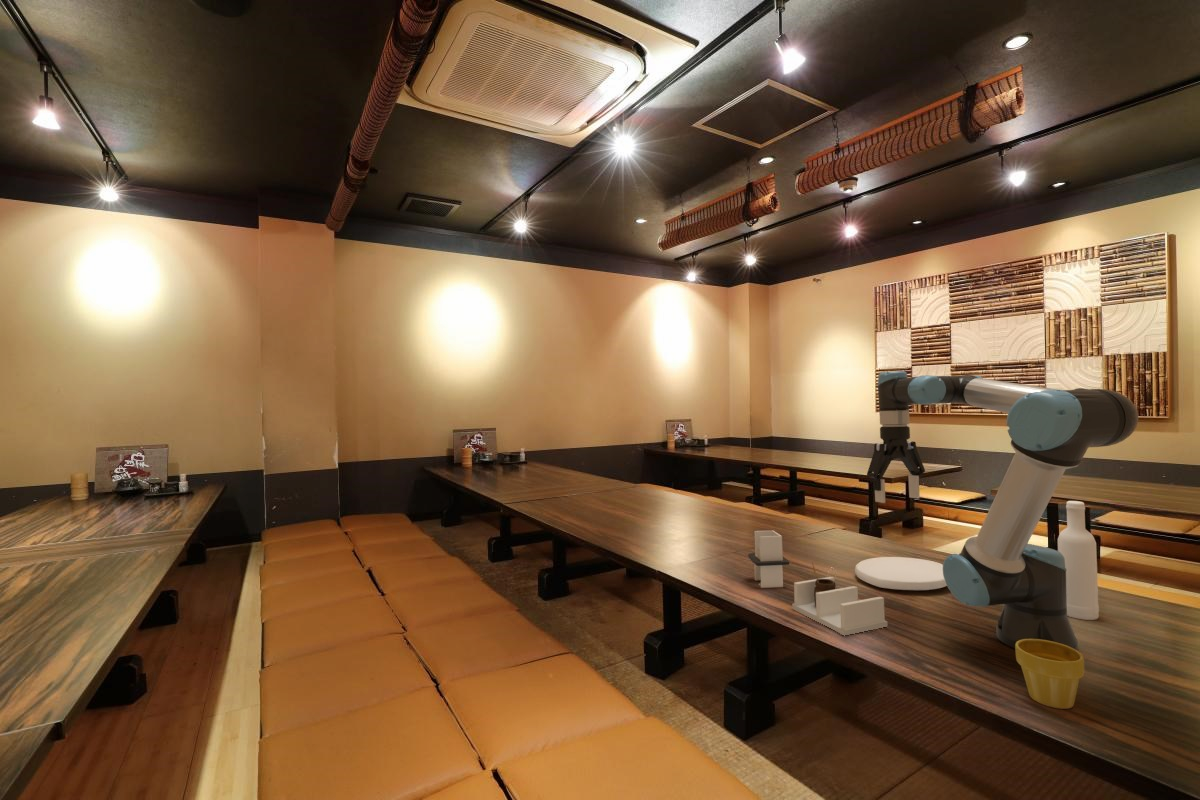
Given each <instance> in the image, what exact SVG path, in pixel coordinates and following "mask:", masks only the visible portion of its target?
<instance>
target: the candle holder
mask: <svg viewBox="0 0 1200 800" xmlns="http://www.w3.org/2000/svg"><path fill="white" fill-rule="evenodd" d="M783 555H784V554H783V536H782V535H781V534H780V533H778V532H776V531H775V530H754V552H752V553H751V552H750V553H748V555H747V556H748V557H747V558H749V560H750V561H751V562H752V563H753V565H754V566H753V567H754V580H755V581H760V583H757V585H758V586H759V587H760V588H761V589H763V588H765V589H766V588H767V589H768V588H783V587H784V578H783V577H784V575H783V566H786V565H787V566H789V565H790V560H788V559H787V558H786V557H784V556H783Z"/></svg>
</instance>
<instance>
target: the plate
mask: <svg viewBox="0 0 1200 800" xmlns="http://www.w3.org/2000/svg"><path fill="white" fill-rule="evenodd" d="M854 574H855V575H856V577H857V578H858V579H860V580H862V581H863V582H865V583H867V584H870V585H872V586H875V587H878V588H883V589H890V590H901V591H929V590H937V589H941V588H945V587H948V586H947V584H946V581H945V579H944V576H943V563H940V562H938V561H937V562H936V561H932V560H929V559H923V558H913V557H906V556H905V557H904V556H903V557H902V556H880V557H872V558H867V559H863V560H861V561H860V562H858V563H857V564H856V565H855V567H854Z"/></svg>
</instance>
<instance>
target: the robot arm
mask: <svg viewBox="0 0 1200 800" xmlns="http://www.w3.org/2000/svg"><path fill="white" fill-rule="evenodd" d="M877 381H878V382H877V393H878V394H877V395H878V409H879V425H881V426H880V427H879V438H880V439H881V440H883V442H882V443H878V442H877V443H874V445H873V447H874V448H873V454H872V457H871V460H870V463H869V467H868V470H867V473H866V477H869V478H870V479H872V481H873V491H874V501H875V503H882V504H886V484H885V481H886V480H885V479H883V477H884V475H885V473H886V472H887V469H888V468H889V466H890V464H891V462H892V461H893V460H894V459H896V460H897V459H900V461H901V462H902V463H903V465H904V466H905V467H906V469H907V470H908V472H909V473H910V474H908V495H909V496H908V497H909V498H910V499H912V498H913V499H920V498H921V495H920V484H921V483H920V481H921V479H920V476H923V475H924V473H925V472H926V468H925V466H924V463H923V461H922V459H921V456H920V453H919V452H918V449H917V443H916V441H911V440H910V441H908V440H909V439H911V429H910V428H911V427H909V426H908V425H910V423H911V422H910V421H911V420H910V407H909V405H923V406H925V405H936V404H937V405H938V404H959V405H960V404H962V405H967V406H972V407H976V408H980V409H986V410H990V411H995V412H1000V413H1005V414H1007V418H1006V426H1007V427H1008V429H1007V433H1008V436H1009V438H1010V439H1011V441H1010V446H1011V447H1012V449H1013V451H1014V452H1015V453H1014V455H1013V457H1012V460H1011V461H1010V464H1009V466H1008V468H1007V471H1006V473H1005V474H1004V477H1003V479H1002V481H1001V483H1000V485H999V488H998V490H997V492H996V495H995V496H994V499H993V501H992V503H991V505H990V507H989V510H988V512H987V514H986V517H985V519H984V521H983V523H982V526H981V527H980V529H979V531H978V534H977V536H971V537H968V538H967V540H966V541H965V542H964V545H963V547H962V549H961V551H960V552H959V553H952V554H950V555H948V556H947V557H945V559H944V561H943V563H942V564H943V576H944V579H945V581H946V584H947V586H946V587H947V588H948V590H949V591H950V593H951V594H952V595H953V597H954V598H956V600H958V601H959V602H960V603H962V604H964V605H965V606H969V607H982V608H984V607H985V608H986V607H990V606H999V605H1003V608H1002V611H1001V612H1000V616H999V618H998V621H997V624H996V627H995V628H996V629H995V631H996V638H997V640H999V641H1000V642H1001V643H1003V644H1005V645H1006V646H1008V647H1010V648H1013V649H1015V644H1016V642H1017V641H1019V640H1022V639H1041V640H1048V641H1053V642H1057V643H1061V644H1064V645H1067V646H1069V647H1071V648H1074V649H1075V650H1077V651H1079V643H1078V639H1077V637H1076V635H1075V632H1074V629H1073V626H1072V624H1071V622H1070V619H1069V618H1068V617H1069V616H1067V596H1066V571H1067V569H1066V568H1065V559H1064V556H1063V555H1062V554H1061V553H1060V552H1058V550H1056V549H1053V548H1049V547H1046V546H1042V545H1037V544H1033V543H1032V544H1031V543H1029V541H1030V540H1031V537H1032V535H1033V533H1034V532H1035V529H1036V528H1037V526H1038V524H1039V523H1040V520H1041V518H1042V517H1043V514H1044V512H1045V510H1046V508H1047V506H1048V504H1049V502H1050V500H1051V498H1052V497H1053V495H1054V493H1055V491H1056V488H1057V487H1058V485H1059V483H1060V481H1061V479H1062V477H1063V476H1064V473H1065V472H1066V470H1068V469H1073V468H1076V467H1078V466H1079V465H1080V464H1081V461H1083V458H1084V456H1085V455H1086V453H1087V451H1088V449H1089V448H1099V447H1100V448H1102V447H1110V446H1113V445H1117V444H1119V443H1121V442H1124V441H1125V440H1126V439H1128V438H1129V437H1130V436H1131V435H1132V434H1133V433H1134V432H1135V430H1136V429H1137V426H1138V422H1139V413H1138V409H1137V408H1136V405H1135V403H1134V402H1133V401H1132V400H1131V399H1130V398H1129V397H1127V396H1126V395H1123V394H1122V393H1120V392H1117V391H1115V390H1110V389H1105V388H1104V389H1103V388H1102V389H1101V388H1082V387H1078V388H1073V389H1063V390H1062V389H1056V388H1050V387H1042V386H1037V385H1036V386H1035V385H1029V384H1022V383H1016V382H1008V381H1003V380H995V379H990V378H989V379H988V378H983V377H982V376H981V375H974V374H964V375H919V376H911V377H908V372H906V371H901V370H900V371H888V372H887V371H885V372H884V371H883V372H880V373H879V374H878V376H877Z"/></svg>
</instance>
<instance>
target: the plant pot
mask: <svg viewBox="0 0 1200 800" xmlns="http://www.w3.org/2000/svg"><path fill="white" fill-rule="evenodd" d="M1014 649H1015V651H1014V652H1015V658H1016V659H1015V660H1016V662H1017V663H1018V664H1019V665H1020V666H1021V671H1022V673H1023V677H1024V680H1025V684H1026V688H1027V692H1028V695H1029V697H1030V698H1031V699H1032V700H1033V701H1035V702H1037V703H1039V704H1041V705H1043V706H1046V707H1050V708H1054V709H1062V710H1063V709H1064V710H1065V709H1067V710H1068V709H1071V708H1073V707H1074V705H1075V701H1076V696H1077V692H1078V687H1079V683H1080V679H1081V678H1083V677H1084V675H1085V658H1084V655H1083V654H1082V653H1081V651H1079V650H1078V651H1077V650H1075V649H1074V648H1071V647H1069V646H1067V645H1064V644H1061V643H1057V642H1053V641H1048V640H1041V639H1022V640H1019V641H1017V642H1016V644H1015V648H1014Z"/></svg>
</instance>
